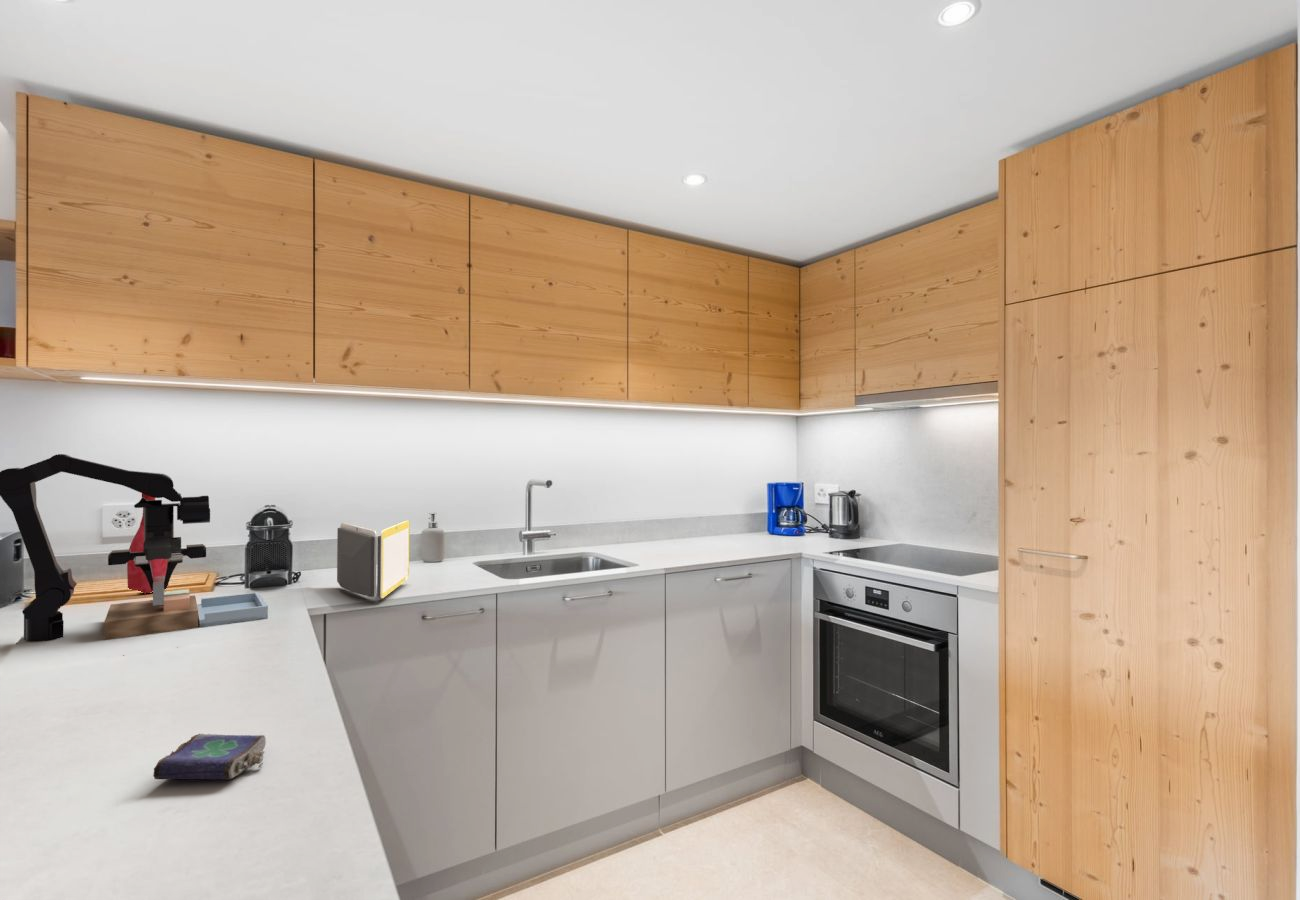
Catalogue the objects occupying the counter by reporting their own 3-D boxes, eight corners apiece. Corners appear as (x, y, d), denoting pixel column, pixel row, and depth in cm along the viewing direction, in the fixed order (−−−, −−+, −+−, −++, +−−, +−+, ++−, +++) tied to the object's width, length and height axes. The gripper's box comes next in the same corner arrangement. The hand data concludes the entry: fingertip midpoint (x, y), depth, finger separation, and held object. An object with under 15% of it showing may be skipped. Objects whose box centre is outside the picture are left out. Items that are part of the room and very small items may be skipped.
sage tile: (164, 605, 158) (164, 595, 158) (164, 601, 162) (164, 591, 162) (189, 602, 161) (189, 592, 161) (188, 598, 165) (188, 589, 165)
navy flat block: (200, 730, 89) (281, 732, 89) (199, 751, 89) (279, 753, 89) (153, 763, 79) (243, 765, 80) (151, 786, 79) (242, 789, 80)
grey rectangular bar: (152, 605, 150) (152, 584, 150) (154, 596, 161) (154, 576, 162) (163, 604, 151) (163, 583, 151) (164, 595, 163) (164, 575, 163)
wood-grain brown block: (104, 639, 143) (104, 621, 143) (110, 620, 159) (110, 604, 159) (198, 627, 153) (198, 610, 153) (195, 610, 169) (195, 595, 169)
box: (199, 627, 153) (199, 614, 153) (196, 610, 169) (196, 599, 169) (267, 618, 162) (267, 606, 162) (258, 603, 178) (258, 592, 178)
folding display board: (328, 583, 204) (328, 521, 204) (396, 574, 219) (396, 517, 219) (370, 602, 179) (371, 531, 179) (444, 590, 194) (444, 525, 194)
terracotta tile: (163, 611, 152) (163, 600, 152) (164, 607, 156) (164, 596, 156) (189, 608, 155) (189, 597, 155) (189, 604, 159) (189, 594, 159)
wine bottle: (119, 593, 189) (119, 491, 189) (155, 587, 198) (156, 489, 198) (140, 596, 185) (140, 492, 185) (176, 589, 194) (176, 490, 194)
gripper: (106, 531, 145) (106, 601, 145) (207, 525, 156) (207, 590, 156) (109, 527, 153) (109, 592, 153) (205, 521, 165) (205, 582, 165)
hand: (159, 589), depth 157 cm, fingers closed on grey rectangular bar, 2 cm apart
